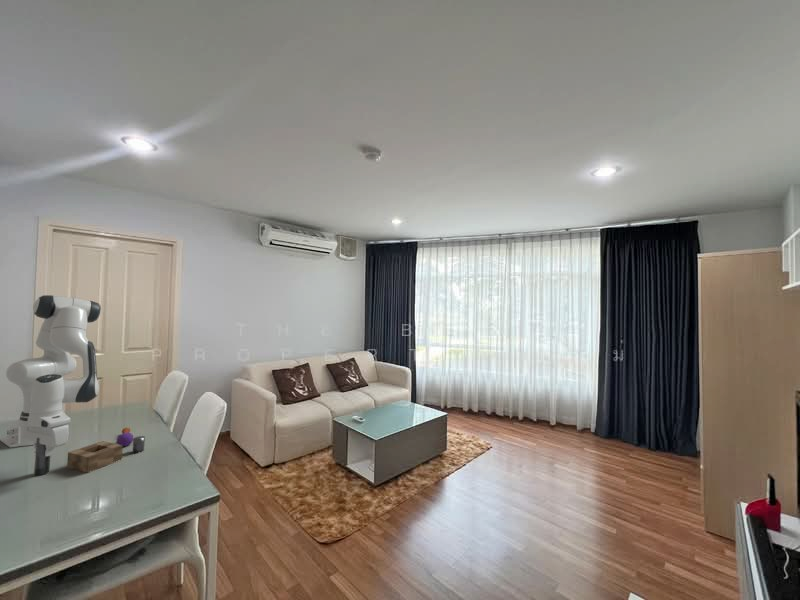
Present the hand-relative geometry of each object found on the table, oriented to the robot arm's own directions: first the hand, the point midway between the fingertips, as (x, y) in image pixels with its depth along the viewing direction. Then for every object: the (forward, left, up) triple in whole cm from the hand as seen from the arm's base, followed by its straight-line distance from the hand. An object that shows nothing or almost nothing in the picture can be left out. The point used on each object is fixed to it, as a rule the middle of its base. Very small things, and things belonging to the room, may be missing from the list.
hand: (43, 454), depth 124 cm
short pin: (+13, +26, -7) cm, 30 cm away
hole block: (+9, +12, -7) cm, 17 cm away
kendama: (-4, +32, -8) cm, 33 cm away
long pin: (0, 0, -7) cm, 7 cm away
